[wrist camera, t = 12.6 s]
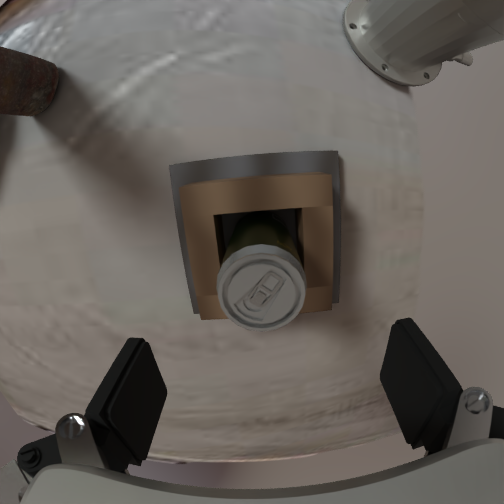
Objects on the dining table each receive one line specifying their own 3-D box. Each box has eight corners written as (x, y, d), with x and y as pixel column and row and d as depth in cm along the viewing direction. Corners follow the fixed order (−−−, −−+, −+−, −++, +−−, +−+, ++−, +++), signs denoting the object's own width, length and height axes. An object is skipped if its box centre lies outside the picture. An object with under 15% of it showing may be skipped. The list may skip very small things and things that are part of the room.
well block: (334, 151, 25) (353, 149, 19) (336, 298, 30) (350, 325, 25) (172, 165, 25) (152, 166, 20) (195, 309, 31) (185, 337, 25)
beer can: (254, 197, 25) (248, 230, 14) (300, 230, 26) (328, 284, 15) (222, 243, 27) (196, 304, 16) (267, 272, 28) (271, 347, 16)
